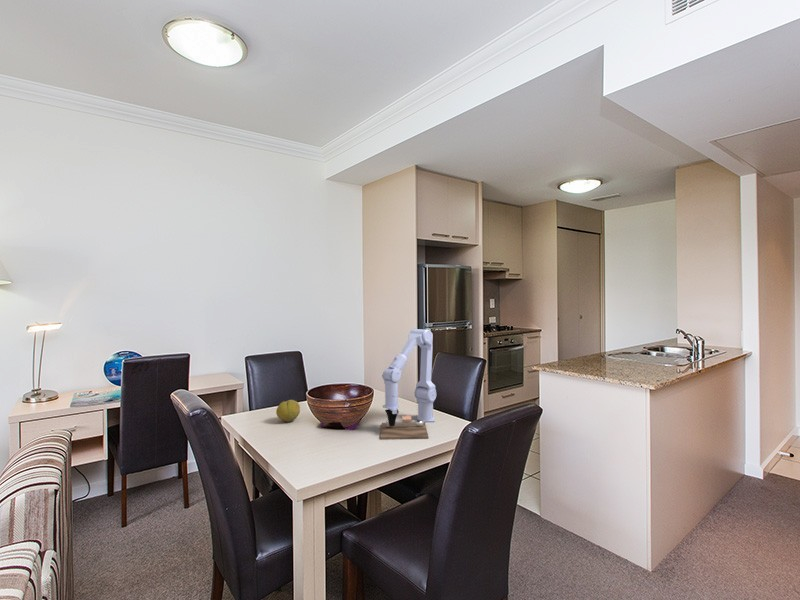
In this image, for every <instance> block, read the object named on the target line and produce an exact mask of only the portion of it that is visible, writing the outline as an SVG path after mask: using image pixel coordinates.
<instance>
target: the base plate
mask: <svg viewBox="0 0 800 600" xmlns="http://www.w3.org/2000/svg"><path fill="white" fill-rule="evenodd" d="M423 425H424V426H422V427H416V426H415V427H386V422H381V426H380V428H381V429H380V440H425V439H429V433H428V430H427V426H426V422H423Z"/></svg>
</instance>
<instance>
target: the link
mask: <svg viewBox="0 0 800 600" xmlns="http://www.w3.org/2000/svg"><path fill="white" fill-rule="evenodd" d="M385 423H386V427H415V426H416V427H422V426H424V425H423V420H421V421H417V419H412V422H403V421H402V419H401V420H399V419H396V420H395V425H394V426H389V421H388V419H387V420H385Z"/></svg>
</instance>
